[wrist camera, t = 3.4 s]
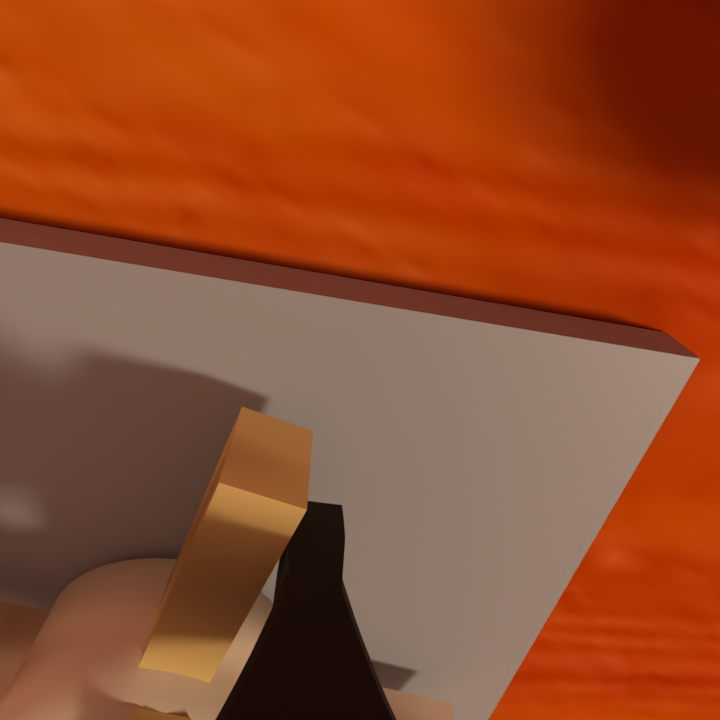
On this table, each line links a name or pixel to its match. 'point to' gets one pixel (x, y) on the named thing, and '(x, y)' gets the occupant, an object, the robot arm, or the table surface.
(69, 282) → the stand board
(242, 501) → the capstan
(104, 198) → the table surface
